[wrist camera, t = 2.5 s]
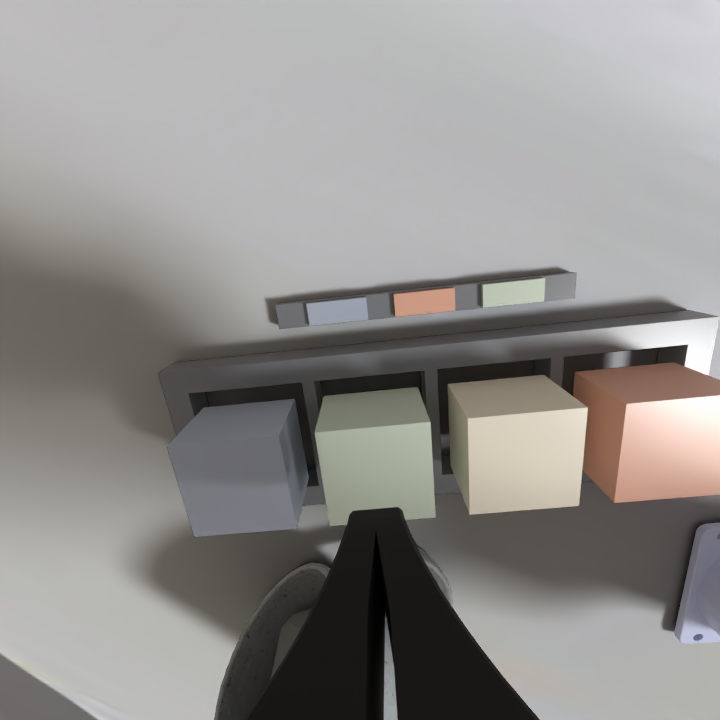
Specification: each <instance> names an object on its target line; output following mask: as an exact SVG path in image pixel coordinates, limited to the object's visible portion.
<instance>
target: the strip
mask: <svg viewBox="0 0 720 720" xmlns="http://www.w3.org/2000/svg"><path fill="white" fill-rule="evenodd" d="M576 275H577V273H574V272H563V273H554V274H545V275H536V276H526V277H517V278H508V279H498V280H489V281H480V282H471V283H461V284H452V285H443V286H433V287H424V288H415V289H406V290H396V291H387V292H378V293H368V294H359V295H350V296H340V297H331V298H322V299H313V300H303V301H294V302H285V303H278V304H276V305H275V307H276V313H277V318H278V324H279V329H286V328H296V327H305V326H315V325H324V324H334V323H343V322H353V321H363V320H372V319H382V318H391V317H401V316H410V315H420V314H429V313H439V312H449V311H458V310H468V309H477V308H487V307H496V306H506V305H516V304H525V303H535V302H544V301H554V300H563V299H573V298H575V289H576Z"/></svg>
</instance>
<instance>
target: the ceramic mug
mask: <svg viewBox="0 0 720 720" xmlns="http://www.w3.org/2000/svg"><path fill="white" fill-rule="evenodd" d="M417 548H418V550H419V552H420V554H421V556H422V557H423V559H424V561H425V563H426V565H427V566H428V568H429V570H430V572H431V574H432V575H433V577H434V579H435V580H436V582H437V584H438V585H439V587H440V589H441V590H442V592H443V594H444V595H445V597H446V598H447V600H448V601H449V603H450V604H451V606H452V605H453V601H452V592H451V588H450V585H449V583H448V580H447V578H446V577H445V576H444V574H443V572H442V570H441V569H440V568H439V567H438V565H437V564H436V563H435V562H434V561H433V560H432V559H431V558H430V556H429V555H428V554H427V553H426V552H425V551H423V550H422V549H420V548H419V547H417ZM329 571H330V568H329V567H328V566H326V565H324V564H321V563H308V564H305V565H302V566H300V567H298V568H296V569H295V570H293V571H292V572H290V573H289V574H288V575H286V576H285V577H284V578H283V579H281V580H280V581H279V582H278V583H277V584H276V585H275V586H274V588H273V589H272V590H271V591H270V592H269V593H268V594H267V595H266V596H265V598H264V599H263V601H262V602H261V604H260V605H259V606H258V608H257V609H256V611H255V612H254V614H253V615H252V617H251V619H250V620H249V622H248V623H247V625H246V627H245V628H244V630H243V632H242V634H241V636H240V639H239V641H238V643H237V645H236V647H235V649H234V651H233V653H232V656H231V659H230V662H229V665H228V667H227V669H226V672H225V676H224V679H223V681H222V684H221V688H220V692H219V697H218V701H217V706H216V712H215V717H214V720H244V719H245V717H246V716H247V714H248V713H249V711H250V710H251V708H252V707H253V705H254V704H255V702H256V701H257V700H258V698H259V697H260V695H261V694H262V692H263V690H264V689H265V687H266V686H267V684H268V683H269V681H270V679H271V678H272V676H273V675H274V673H275V672H276V670H277V669H278V667H279V665H280V664H281V662H282V661H283V659H284V657H285V656H286V654H287V652H288V651H289V649H290V647H291V645H292V644H293V642H294V640H295V639H296V637H297V635H298V633H299V631H300V630H301V628H302V626H303V624H304V622H305V620H306V619H307V617H308V615H309V613H310V611H311V609H312V607H313V605H314V603H315V601H316V599H317V597H318V595H319V593H320V591H321V589H322V587H323V584H324V582H325V580H326V578H327V575H328V573H329ZM384 720H398V718H397V703H396V688H395V673H394V664H393V657H392V651H391V644H390V637H389V631H388V624H387V618H386V616H385V666H384Z"/></svg>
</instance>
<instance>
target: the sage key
mask: <svg viewBox="0 0 720 720" xmlns="http://www.w3.org/2000/svg"><path fill="white" fill-rule="evenodd" d="M315 439H316V445H317V451H318V457H319V463H320V469H321V475H322V481H323V487H324V493H325V499H326V505H327V512H328V518H329V524H330V526H337V525H347V522H348V518H349V514H350V513H351V512H352V511H356V510H368V509H380V508H392V507H399V508H400V509H401V510H403V514H404V517H405V520H411V519H423V518H436V513H435V495H434V477H433V458H432V440H431V422H430V419H429V417H428V414H427V411H426V408H425V406H424V403H423V400H422V398H421V395H420V392H419V389H418V387H412V388H401V389H391V390H380V391H370V392H360V393H349V394H339V395H328V396H324V398H323V402H322V405H321V409H320V413H319V417H318V421H317V425H316V429H315Z"/></svg>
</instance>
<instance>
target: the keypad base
mask: <svg viewBox="0 0 720 720" xmlns="http://www.w3.org/2000/svg"><path fill="white" fill-rule="evenodd" d="M719 318H720V317H719V316H714V315H710V314H705V313H700V312H695V311H691V310H684V311H675V312H665V313H655V314H645V315H635V316H626V317H616V318H606V319H596V320H586V321H576V322H567V323H557V324H547V325H537V326H527V327H518V328H508V329H498V330H488V331H478V332H469V333H459V334H449V335H439V336H429V337H419V338H410V339H400V340H390V341H380V342H370V343H361V344H351V345H341V346H331V347H321V348H312V349H302V350H292V351H282V352H272V353H263V354H253V355H243V356H233V357H223V358H213V359H204V360H194V361H184V362H175V363H173V364H172V365H170V366H169V367H167V368H165V369H164V370H162V371H161V372H159V373H158V375H159V379H160V382H161V385H162V389H163V392H164V396H165V399H166V402H167V406H168V409H169V413H170V416H171V419H172V423H173V426H174V429H175V433H176V436H177V435H178V434H179V433H180V432H181V431H182V430H183V429H184V428H185V427H186V425H187V424H188V423H189V422H190V421H191V420H192V419H193V418H194V417H195V416H196V415H197V414H198V413H199V412H200V411H201V410H202V409H203V408H204V407H209V405H208V401H207V397H206V394H205V392H210V391H220V390H230V389H240V388H250V387H260V386H271V385H281V384H291V383H301V382H302V387H303V393H304V399H305V405H306V411H307V417H308V422H309V428H310V434H311V440H312V446H313V452H314V458H315V464H316V468H310V469H307V470H308V476H309V479H308V483H307V488H306V492H305V496H304V501H303V505H302V506H305V505H317V504H326V499H325V493H324V487H323V481H322V475H321V469H320V463H319V457H318V451H317V445H316V439H315V429H316V425H317V421H318V417H319V413H320V409H321V405H322V402H323V399H322V393H321V386H320V381H322V380H332V379H342V378H352V377H362V376H373V375H383V374H393V373H403V372H413V371H420V373H421V390H422V400H423V403H424V406H425V408H426V411H427V414H428V417H429V419H430V422H431V440H432V458H433V477H434V495H437V494H449V493H461V491H460V488H459V486H458V483H457V481H456V478H455V475H454V473H453V470H452V468H451V462H450V456H446V457H441V440H440V419H439V397H438V375H437V369H444V368H454V367H464V366H475V365H485V364H495V363H505V362H515V361H526V360H535V374H534V376H536V375H545V376H546V377H548V378H549V379H550V380H552V381H553V382H554V383H556V384H557V385H558V386H560V387H561V388H562V382H563V366H564V357H566V356H577V355H587V354H597V353H607V352H617V351H628V350H638V349H648V348H658V347H659V350H658V356H657V363H656V364H661V363H671V362H675V363H677V364H680V365H682V366H685V367H688V368H690V369H693V370H695V371H698V372H700V373H703V374H705V375H708V374H709V369H710V364H711V359H712V354H713V348H714V343H715V338H716V333H717V328H718V323H719ZM592 481H593V480H592V479H591V478H590V477H589V476H588V475H587V474H586V473H585V472H584V471H583V470H582V479H581V482H592Z"/></svg>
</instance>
